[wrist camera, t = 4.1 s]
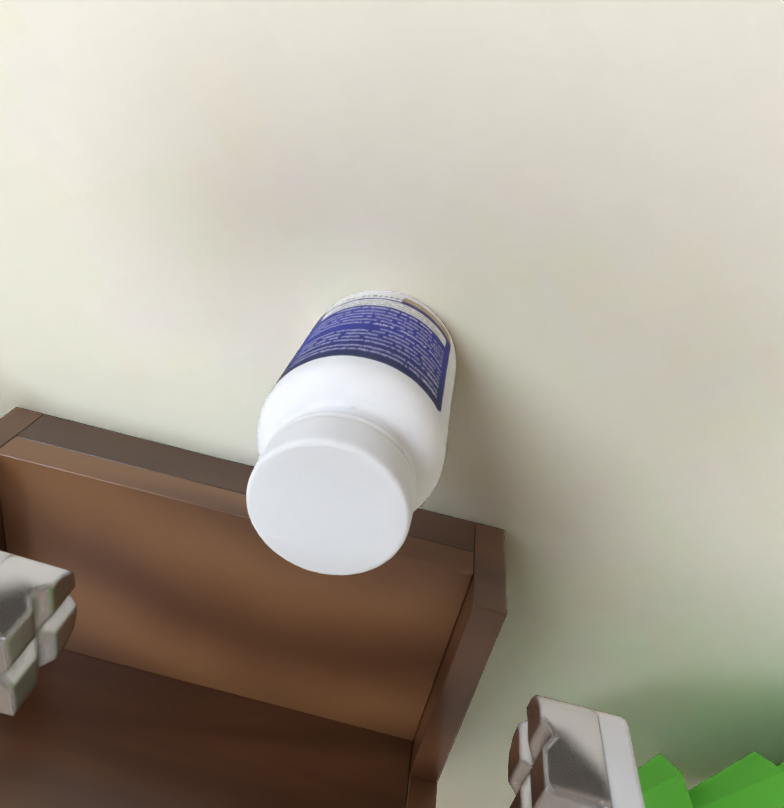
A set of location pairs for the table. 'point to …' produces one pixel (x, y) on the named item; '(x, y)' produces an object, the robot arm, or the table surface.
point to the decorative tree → (715, 785)
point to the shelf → (229, 640)
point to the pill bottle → (354, 434)
